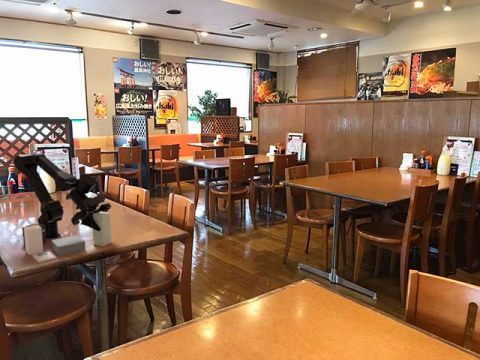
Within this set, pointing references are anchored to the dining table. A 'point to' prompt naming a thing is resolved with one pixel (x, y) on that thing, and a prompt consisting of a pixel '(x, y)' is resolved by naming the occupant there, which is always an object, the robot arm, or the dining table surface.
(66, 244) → the slate base
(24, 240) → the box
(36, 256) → the plaque
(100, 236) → the sage block
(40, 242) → the white block
